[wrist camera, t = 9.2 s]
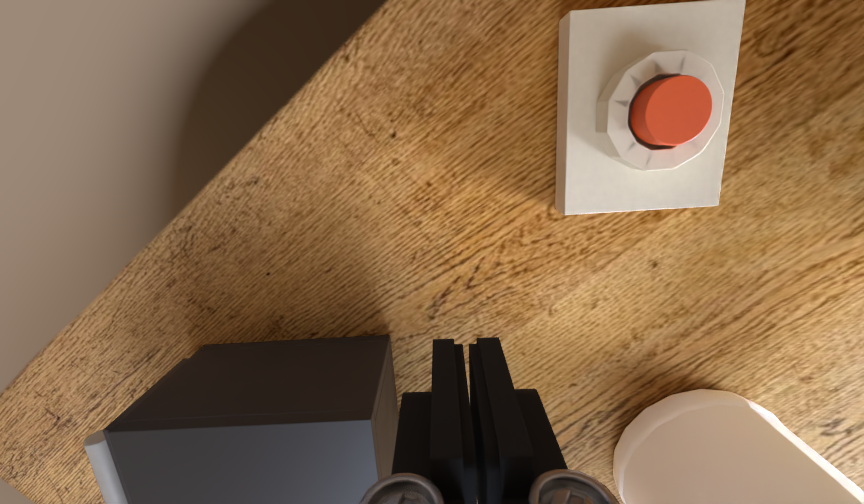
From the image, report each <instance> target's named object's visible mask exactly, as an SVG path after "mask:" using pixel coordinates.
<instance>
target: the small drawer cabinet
mask: <svg viewBox="0 0 864 504" xmlns="http://www.w3.org/2000/svg"><path fill="white" fill-rule="evenodd" d="M398 421H399V417H398V407H397V397H396V387H395V378H394V368H393V358H392V348H391V338H390V335H378V336H360V337H341V338H323V339H304V340H286V341H267V342H249V343H230V344H212V345H203V346H202V347H201V348H200V349H199V350H198V351H197V352H196V353H195V354H194V355H192V356H191V357H190V358H189V359H188V360H187V361H186V362H185V363H184V364H183V365H181V366H180V367H179V368H178V369H177V370H176V371H175V372H174V373H173V374H171V375H170V376H169V377H168V378H167V379H166V380H165V381H164V382H163V383H162V384H160V385H159V386H158V387H157V388H156V389H155V390H154V391H153V392H152V393H150V394H149V395H148V396H147V397H146V398H145V399H144V400H143V401H142V402H141V403H139V404H138V405H137V406H136V407H135V408H134V409H133V410H132V411H131V412H129V413H128V414H127V415H126V416H125V417H124V418H123V419H122V420H121V421H120V422H118V423H117V424H116V425H115V426H114V427H112V428H111V429H110V430H109V431H108V432H107V434H108V437H109V440H110V443H111V446H112V449H113V451H114V454H115V457H116V460H117V463H118V466H119V469H120V472H121V475H122V478H123V481H124V484H125V486H126V489H127V492H128V495H129V498H130V501H131V504H359V502H360V501H361V499H362V497H363V495H364V494H365V492H366V491H367V490H368V489H369V488H370V487H371V486H372V485H373V484H374V483H375V482H377V481H379V480H381V479H382V478H384V477H386V476H390V475H391V472H392V465H393V458H394V450H395V443H396V436H397V429H398Z"/></svg>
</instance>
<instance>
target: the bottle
mask: <svg viewBox="0 0 864 504" xmlns="http://www.w3.org/2000/svg"><path fill="white" fill-rule="evenodd" d="M613 477H614V480H615V483H616V486H617V489H618V491H619V494H620V496H621V499H622V501H623V504H864V491H863V490H861V489H860V488H859V487H858V486H857V485H855V484H854V483H853V482H852V481H851V480H849V479H848V478H847V477H846V476H845V475H843V474H842V473H841V472H840V471H838V470H837V469H836V468H835V467H834V466H832V465H831V464H830V463H829V462H827V461H826V460H825V459H824V458H823V457H821V456H820V455H819V454H818V453H816V452H815V451H814V450H813V449H812V448H810V447H809V446H808V445H807V444H805V443H804V442H803V441H802V440H801V439H799V438H798V437H797V436H796V435H794V434H793V433H792V432H791V431H790V430H788V429H787V428H786V427H785V426H784V425H783V424H782V423H781V422H780V421H779V420H778V419H777V417H776V416H775V415H774V414H773V413H771V412H769V411H768V410H766V409H765V408H763V407H761V406H760V405H758V404H756V403H754V402H752V401H750V400H748V399H746V398H744V397H742V396H739V395H737V394H735V393H733V392H730V391H720V390H709V389H697V390H692V391H687V392H683V393H678V394H673V395H670V396H668V397H666V398H664V399H662V400H660V401H659V402H657V403H655V404H653V405H651V406H649V407H647V408H645V409H644V410H643V411H642V412H641V413H640V414H639V415H638V416H637V417H636V418H635V419H634V420H633V421H632V422H631V423H630V424H629V425H628V426H627V427H626V428H625V429H624V431H623V433H622V435H621V437H620V440H619V442H618V444H617V446H616V448H615V450H614V462H613Z"/></svg>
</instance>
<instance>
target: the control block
mask: <svg viewBox="0 0 864 504" xmlns="http://www.w3.org/2000/svg"><path fill="white" fill-rule="evenodd" d="M745 3H746V0H706V1H693V2H679V3H666V4H652V5H638V6H625V7H611V8H597V9H584V10H571V11H569V12H568V13H567V14H566V15H565V16H564V17H563V18H562V19H561V20H560V21H559V51H558V98H557V145H556V192H555V209H556V210H557V211H559V212H561V213H562V214H564V215H574V214H590V213H606V212H623V211H639V210H656V209H672V208H689V207H705V206H718V204H719V196H720V189H721V181H722V174H723V166H724V159H725V152H726V144H727V137H728V129H729V122H730V114H731V107H732V99H733V92H734V85H735V77H736V70H737V62H738V55H739V47H740V40H741V32H742V25H743V18H744V10H745ZM679 75H689V76H693V77H696V78H698V79H699V80H701V81H702V82H703V83H704V84H705V85H706V86H707V87H708V89H709V91H710V93H711V97H712V112H711V116H710V119H709V121H708V123H707V125H706V127H705V128H704V129H703V131H702V132H701V133H700V134H699V135H698V136H696V137H695V138H694V139H692V140H691V141H689V142H687V143H684V144H681V145H653V144H649V143H646V142H644V141H643V140H641V139H640V138H639V137H638V136H637V135H636V134H635V132H634V130H633V128H632V124H631V110H632V106H633V103H634V101H635V99H636V98H637V96H638V95H639V93H640V92H641V91H642V90H643V89H644V88H645V87H647V86H648V85H649V84H651V83H653V82H655V81H658V80H662V79H666V78H670V77H674V76H679Z"/></svg>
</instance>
